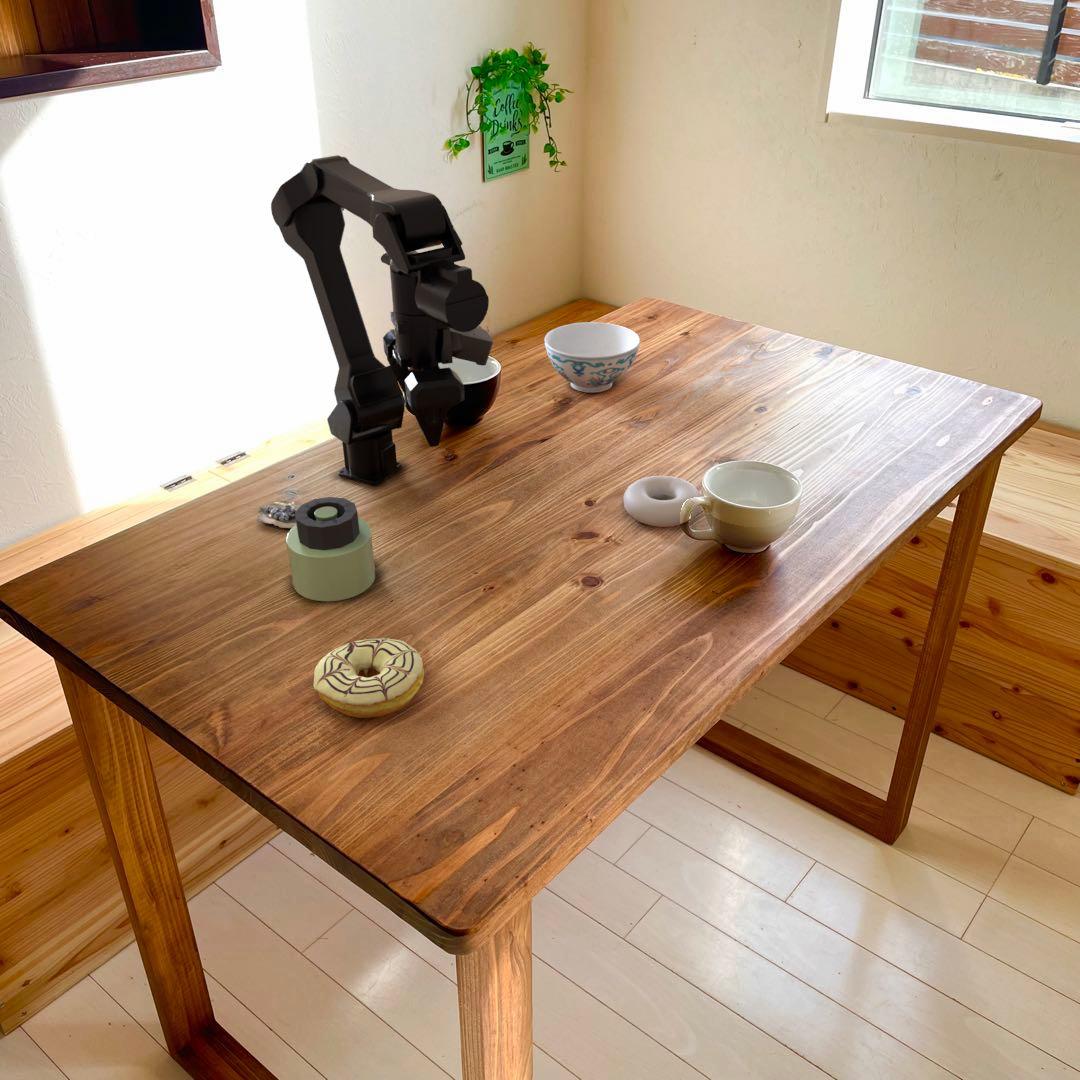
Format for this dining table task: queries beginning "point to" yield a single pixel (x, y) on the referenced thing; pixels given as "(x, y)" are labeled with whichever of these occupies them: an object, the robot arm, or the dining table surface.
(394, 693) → the decorated donut
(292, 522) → the blueberry tart
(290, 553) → the green cylinder with peg
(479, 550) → the dining table surface
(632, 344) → the chinaware
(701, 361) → the dining table surface
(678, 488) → the donut
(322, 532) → the rubber ring
